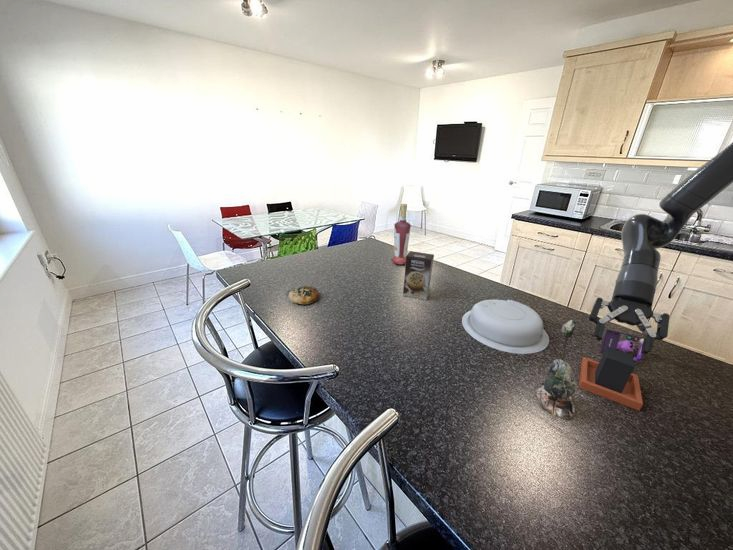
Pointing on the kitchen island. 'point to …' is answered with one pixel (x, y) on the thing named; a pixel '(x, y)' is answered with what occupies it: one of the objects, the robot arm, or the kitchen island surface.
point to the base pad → (627, 397)
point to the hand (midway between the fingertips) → (621, 345)
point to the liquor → (401, 237)
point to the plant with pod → (559, 383)
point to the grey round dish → (506, 326)
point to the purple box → (622, 343)
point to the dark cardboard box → (418, 275)
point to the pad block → (614, 369)
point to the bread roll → (304, 295)
